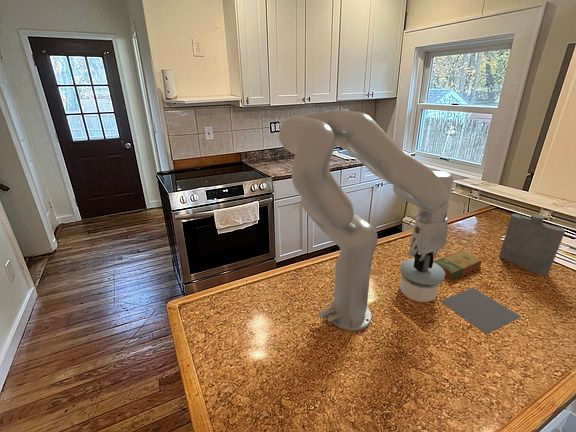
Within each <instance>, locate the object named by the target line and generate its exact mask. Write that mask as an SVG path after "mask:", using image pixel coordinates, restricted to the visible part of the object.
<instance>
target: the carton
mask: <svg viewBox="0 0 576 432" xmlns="http://www.w3.org/2000/svg"><path fill="white" fill-rule="evenodd" d="M433 262H434V263H436V264H438V265H439V266H440V267H442V268H443V270H444V271H445V279H447V280H450V281H453V280H454V279H457V278H459V277H461V276H464V275H466V274H468V273H471V272H473V271H475V270H478V269H480V268H481V265H482V259H480V258H478V257H476V256H474V255H472V254H470V253H468V252H466V251H464V250H458V251H456V252H453V253H451V254H447V256H444V257H441V258H439V259H436V260H434V261H433Z"/></svg>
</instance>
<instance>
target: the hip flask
mask: <svg viewBox="0 0 576 432" xmlns="http://www.w3.org/2000/svg"><path fill="white" fill-rule="evenodd" d="M509 218H510V219H509V223H508V224H507V229H506V232H505V235H504V238H503V243H502V245H501V249H500V251H499V258H501V259H502V260H505V261H507V263H508V262H509V263H511V264H513V265H515V266H518V267H519V268H521V269H524V270H527V271H530V272H532V273H534V274H537V275H540V276H545V277H547V276H549V273H550V271H551V268H552V266H553V264H554V262H555V258H556V256H557V253H558V251H559V249H560V245H561V242H562V240H563V238H564V234H566V233H565V232H566V229H565V228H563V227H560V226H555V225H551V224H548V223H545V222H543V221H545V218H546V217H545V216H544V215H541V214H538V213H534V214H533V213H532V214H531V215H530V217H529V216H524V215H521V214H518V213H512V214H511V215H510V217H509Z"/></svg>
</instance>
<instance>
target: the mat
mask: <svg viewBox="0 0 576 432" xmlns="http://www.w3.org/2000/svg"><path fill="white" fill-rule="evenodd" d="M440 302H441V303H442V304H444V305H445V307H447V308H449V309H450V310H452V311H453V312H454V313H456V314H457V315H459V316H460V317H461V318H463V319H464V320H466V321H467V322H468V323H469V324H471V325H473V326H474V327H475V328H477V329H478V330H480V331H481V332H483V333H484V334H485V335H488V334H489V333H492V332H494V331H496V330H498V329H500V328H502V327H505V326H506V325H508V324H510V323H513V322H514V321H516V320H518V319H519V318H522V316H521V315H520V314H518V313H516V312H514V311H513V310H511V309H510V308H508V307H506V306H504V305H503V304H501V303H499V302H498V301H496V300H495V299H493V298H491V297H489V295H486V294H485V293H483V292H481V291H479V290H478V289H476V288H475V287H471V288H469V289H466V290H463V291H461V292H458V293H456V294H453V295H450V296H448V297H447V298H444V299H441V300H440Z"/></svg>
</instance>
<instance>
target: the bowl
mask: <svg viewBox="0 0 576 432" xmlns="http://www.w3.org/2000/svg"><path fill="white" fill-rule="evenodd" d="M400 274H401V275H400V280H399V288H400V292H401V293H402V294H403V295H404V296H405V298H408V299H409V300H412V301H415V302H419V303H428V302H431V301H434V300H435V299H436V297H437V296H438V293H439V287H440V283H439V284H436V285H423V284H418V283H415V282H412V281H410V280H408V279H407V278H405V277H404V276H403V275H402V273H400Z"/></svg>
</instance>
